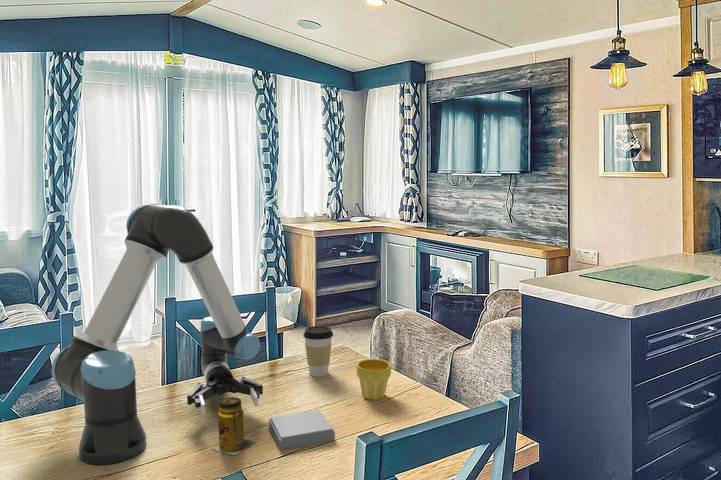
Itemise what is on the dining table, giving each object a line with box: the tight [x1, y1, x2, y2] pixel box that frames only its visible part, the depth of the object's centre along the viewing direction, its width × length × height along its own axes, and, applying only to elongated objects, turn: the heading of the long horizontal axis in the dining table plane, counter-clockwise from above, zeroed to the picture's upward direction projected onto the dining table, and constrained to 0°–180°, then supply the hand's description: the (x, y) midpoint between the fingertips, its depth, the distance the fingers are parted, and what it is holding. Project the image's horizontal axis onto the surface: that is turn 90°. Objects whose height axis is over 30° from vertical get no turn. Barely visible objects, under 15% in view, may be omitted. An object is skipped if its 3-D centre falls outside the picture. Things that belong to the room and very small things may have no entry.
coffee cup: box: [303, 325, 334, 378], centre depth 193 cm, size 10×10×15 cm
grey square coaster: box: [268, 409, 336, 451], centre depth 150 cm, size 14×13×3 cm
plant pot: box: [356, 358, 392, 401], centre depth 175 cm, size 10×10×10 cm
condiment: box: [212, 396, 258, 456], centre depth 144 cm, size 7×8×12 cm
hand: (230, 405), depth 152 cm, fingers open, 13 cm apart
